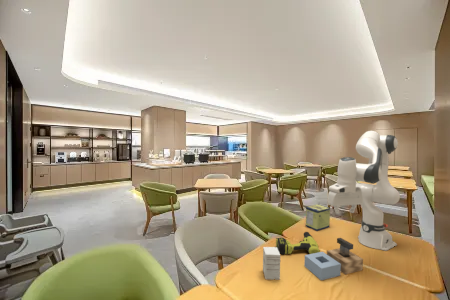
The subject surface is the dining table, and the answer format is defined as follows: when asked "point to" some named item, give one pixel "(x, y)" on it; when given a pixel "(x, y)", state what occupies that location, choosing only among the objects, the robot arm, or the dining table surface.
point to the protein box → (317, 217)
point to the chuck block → (322, 265)
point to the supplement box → (271, 263)
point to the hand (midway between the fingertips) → (344, 213)
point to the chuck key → (344, 247)
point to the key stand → (347, 261)
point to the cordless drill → (297, 245)
